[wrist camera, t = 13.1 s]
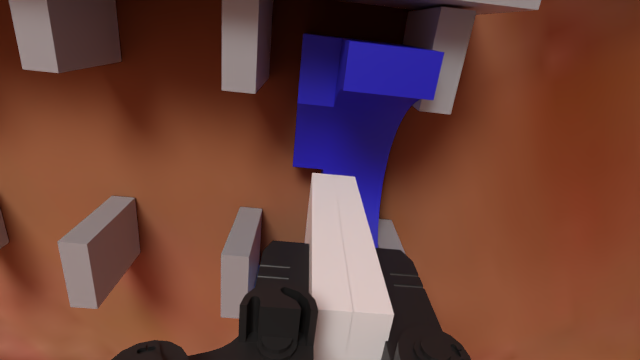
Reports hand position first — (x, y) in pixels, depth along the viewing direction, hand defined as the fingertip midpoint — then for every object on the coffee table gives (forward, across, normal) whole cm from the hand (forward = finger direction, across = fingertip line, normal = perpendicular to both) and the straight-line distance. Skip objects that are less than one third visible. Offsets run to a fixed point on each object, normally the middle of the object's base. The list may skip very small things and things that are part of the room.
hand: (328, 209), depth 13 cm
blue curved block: (+7, -1, 0) cm, 7 cm away
